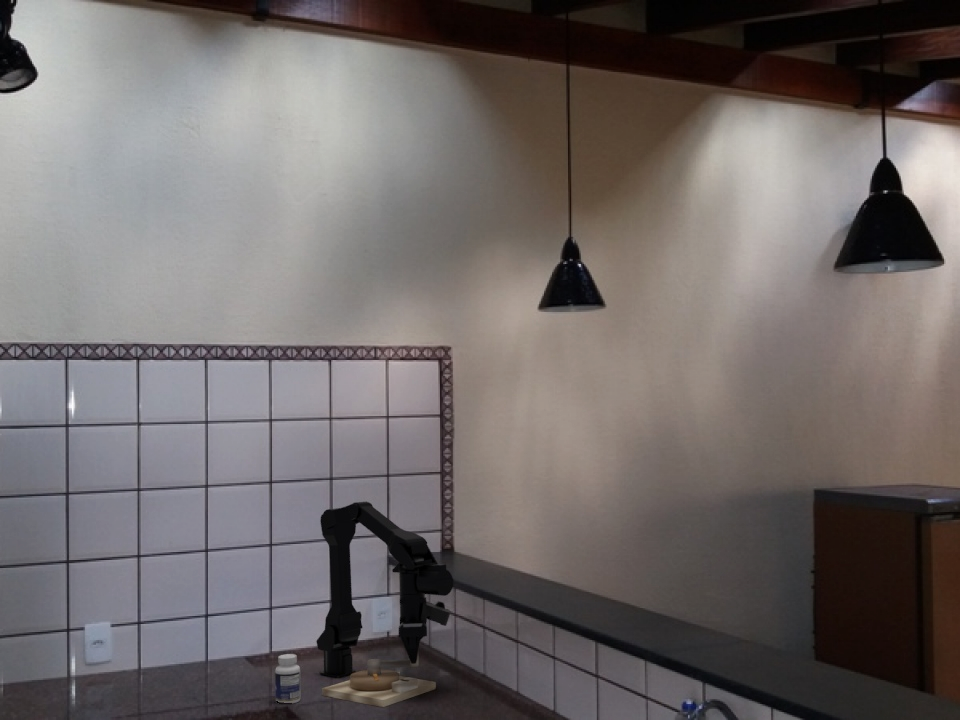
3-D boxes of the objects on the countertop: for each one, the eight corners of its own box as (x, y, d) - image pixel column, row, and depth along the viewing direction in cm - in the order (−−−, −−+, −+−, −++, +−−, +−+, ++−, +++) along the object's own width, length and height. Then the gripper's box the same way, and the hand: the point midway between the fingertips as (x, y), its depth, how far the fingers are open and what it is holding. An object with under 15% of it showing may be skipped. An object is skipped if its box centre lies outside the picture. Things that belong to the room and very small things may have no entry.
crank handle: (348, 679, 242) (348, 650, 242) (416, 675, 245) (415, 646, 245) (352, 691, 231) (351, 660, 232) (422, 687, 234) (422, 656, 235)
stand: (322, 695, 236) (322, 678, 236) (376, 678, 250) (375, 662, 250) (383, 707, 225) (382, 689, 225) (435, 688, 240) (435, 672, 240)
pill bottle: (276, 698, 234) (276, 653, 234) (301, 697, 234) (301, 652, 235) (274, 705, 228) (273, 659, 229) (299, 704, 229) (298, 658, 229)
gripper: (449, 597, 231) (450, 670, 229) (446, 587, 249) (448, 654, 248) (397, 598, 230) (399, 672, 229) (399, 588, 249) (400, 656, 247)
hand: (413, 663), depth 238 cm, fingers closed
